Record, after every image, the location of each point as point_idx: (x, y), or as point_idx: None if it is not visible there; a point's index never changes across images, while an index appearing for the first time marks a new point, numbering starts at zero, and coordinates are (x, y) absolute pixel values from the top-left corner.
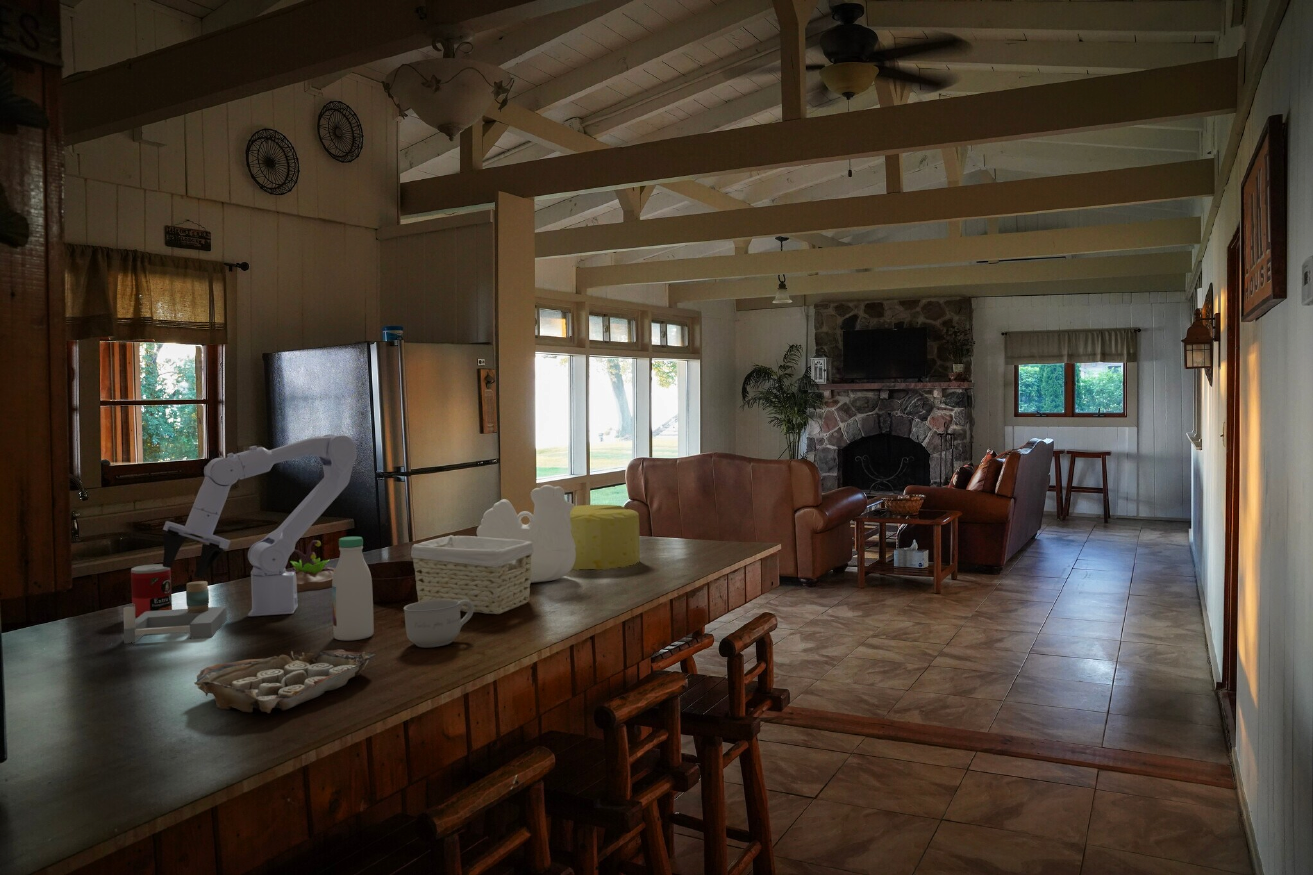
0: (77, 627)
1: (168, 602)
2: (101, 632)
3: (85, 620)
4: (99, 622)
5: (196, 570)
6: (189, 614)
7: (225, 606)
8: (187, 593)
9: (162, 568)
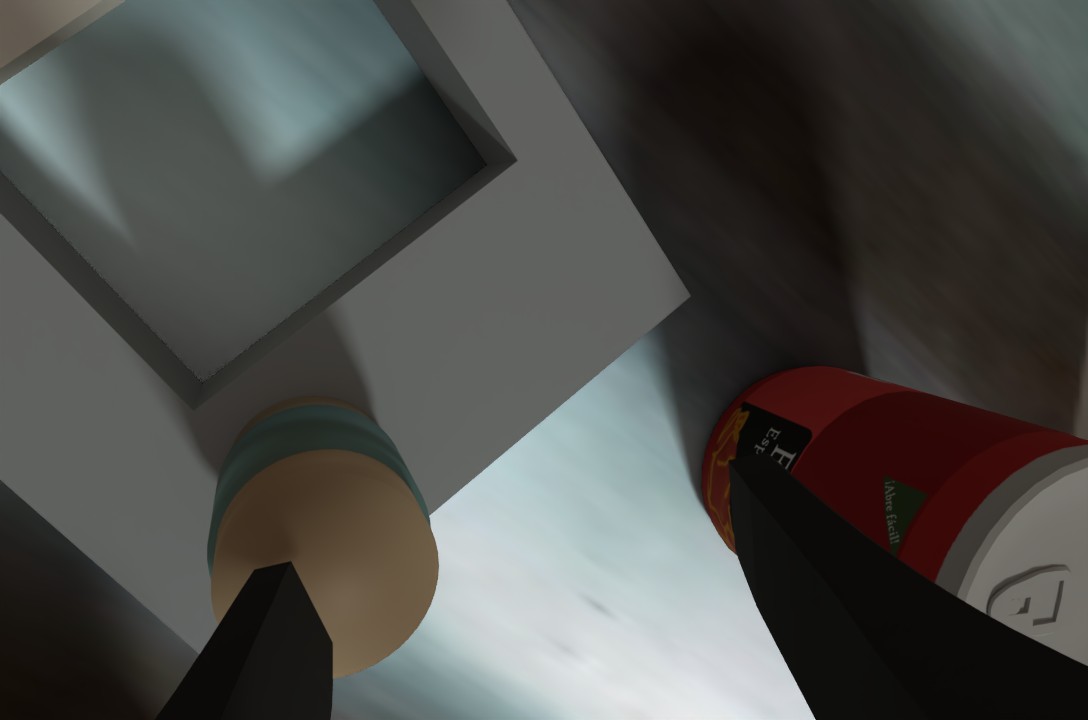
0: (969, 101)
1: None
2: (757, 48)
3: (1040, 239)
4: (945, 234)
5: (254, 617)
6: (265, 359)
7: None
8: (340, 437)
9: None
